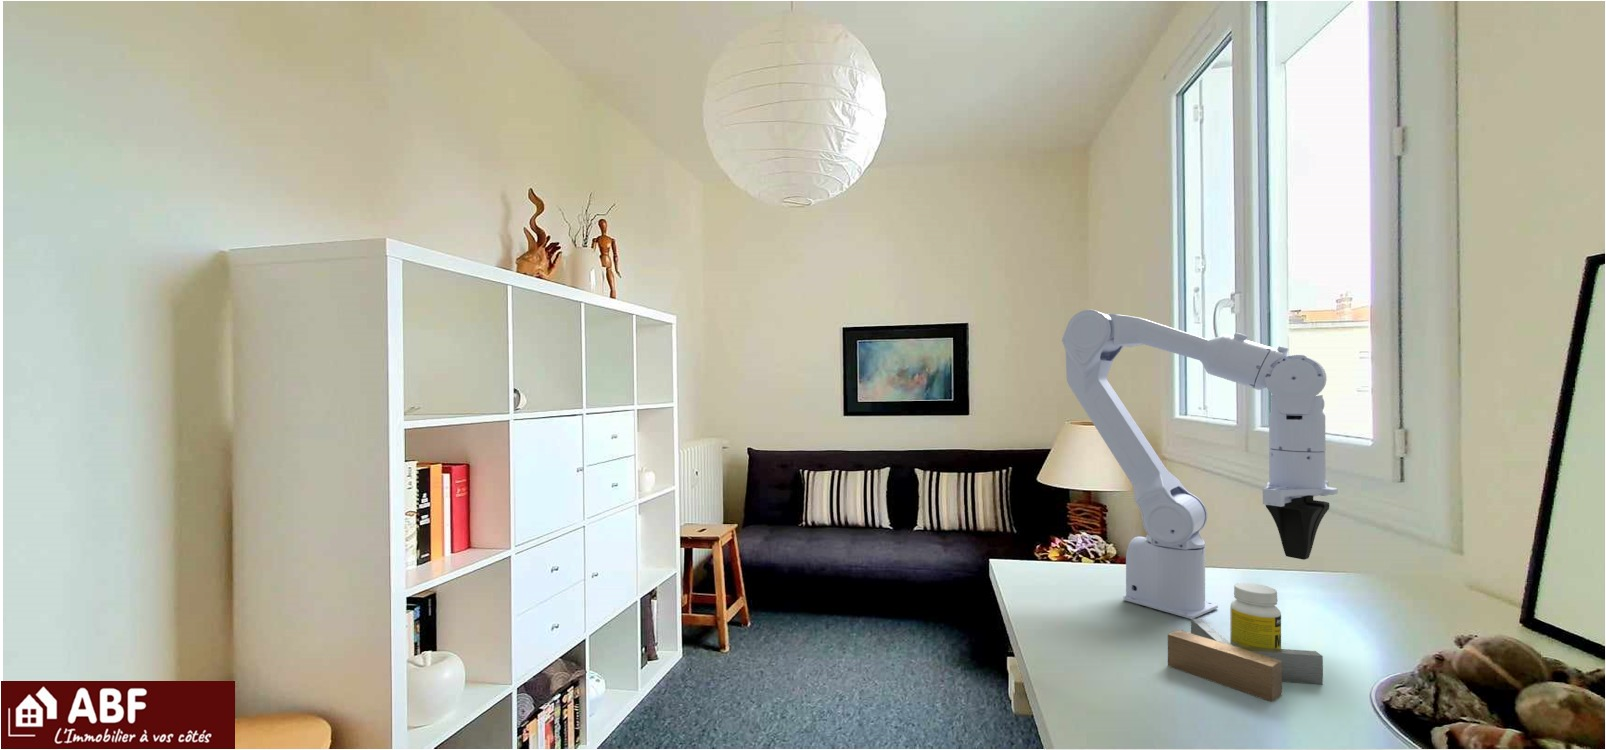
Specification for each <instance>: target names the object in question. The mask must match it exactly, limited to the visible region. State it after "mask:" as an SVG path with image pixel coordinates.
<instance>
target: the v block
mask: <svg viewBox="0 0 1606 750" xmlns="http://www.w3.org/2000/svg"><path fill="white" fill-rule="evenodd" d="M1323 658H1324V656H1323V655H1322V654H1320V653H1319V652H1318V651H1315V650H1302V649H1285V648H1281V649H1275V648H1260V647H1245V646H1233V645H1232V644H1231V643H1230V641H1229V640H1227V639H1226V638H1225V637H1223V636H1222V635H1221V634H1220V633H1219V632H1217V630H1215V629H1214V628H1213V627H1211V626H1210V625H1209V624H1208V623H1207V622H1206V621H1205V620H1204V619H1202V618H1193V619H1190V632H1188V631H1184V630H1181V629H1177V630H1174V631H1172V632H1169V633H1167V667H1170V668H1174V669H1176V670H1178V671H1182V672H1185V673H1187V674H1190V675H1193V676H1196V677H1198V678H1202V679H1205V680H1207V681H1211V682H1214V683H1216V684H1218V685H1222V686H1224V687H1228V688H1231V689H1232V690H1233V689H1234V690H1236V691H1239V692H1242V693H1243V694H1247V695H1251V696H1254V697H1256V698H1259V699H1262V700H1264V701H1267V702H1270V703H1273V702H1274V701H1276V700H1278V699H1279V698H1281V697H1282V696H1283V683H1295V684H1305V685H1306V684H1308V685H1321V686H1322V685H1323V684H1324V669H1323V668H1324V667H1323V666H1324V665H1323V664H1324V662H1323V660H1324V659H1323Z"/></svg>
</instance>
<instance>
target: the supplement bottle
mask: <svg viewBox="0 0 1606 750" xmlns="http://www.w3.org/2000/svg"><path fill="white" fill-rule="evenodd" d="M1233 587H1234V588H1233V596H1234V600H1233V601H1231V602H1230V608H1229V609H1230V612H1229V613H1230V614H1229V615H1230V619H1229V620H1230V625H1229V626H1230V629H1229V630H1230V631H1229V632H1230V634H1229V635H1230V637H1229V638H1230V641H1229V643H1231V644H1232V645H1233V646H1245V647H1260V648H1275V649H1282V612H1281V610H1280V609H1279V608H1278V607H1277V604H1278V592H1277V590H1276V589H1275V588H1274V587H1271V586H1267V585H1265V584H1264V585H1263V584H1259V583H1251V582H1250V583H1249V582H1237V583H1235V584H1234V586H1233Z"/></svg>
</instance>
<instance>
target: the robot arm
mask: <svg viewBox="0 0 1606 750" xmlns="http://www.w3.org/2000/svg"><path fill="white" fill-rule="evenodd" d="M1061 342H1062V345H1063V347H1064V351H1065V368H1066V381H1067V385H1068V387H1069V388H1070V390H1071V392H1072V393H1073V394H1074V396H1075V397H1076V399H1077V401H1078V402H1079V404H1080V405H1081V406H1082V408H1083V410H1084V411H1085V413H1086V415H1087V416H1088V418H1089V420H1090V421H1091V422H1092V424H1093V426H1094V427H1095V429H1096V430H1097V432H1098V434H1099V435H1100V437H1101V438H1102V440H1103V441H1104V443H1105V444H1106V446H1107V448H1108V449H1109V450H1110V452H1111V454H1112V455H1113V456H1114V458H1115V460H1116V462H1117V463H1118V465H1119V466H1120V467H1121V469H1122V471H1123V472H1124V474H1125V475H1126V477H1127V479H1128V481H1129V482H1130V483H1131V485H1132V487H1133V494H1134V496H1133V497H1134V502H1135V503H1136V505H1137V506H1138V508H1139V510H1140V513H1141V518H1142V519H1141V520H1142V525H1143V529H1144V530H1145V532H1146V535H1145V536H1146V537H1145V536H1135V537H1133V538H1132V539H1131V540H1130V542H1129V543H1128V547H1127V550H1126V552H1125V553H1126V555H1125V595H1124V596H1122V598H1123V600H1124V601H1127V602H1129V603H1133V604H1136V605H1141V606H1145V607H1147V608H1150V609H1154V610H1158V611H1161V612H1165V613H1168V614H1172V615H1176V616H1179V617H1183V618H1186V619H1189V620H1191V619H1197V618H1198V617H1200V616H1202V615H1205V614H1208V613H1209V612H1212V611H1213V610H1217V609H1218V608H1219V605H1218V604H1217V603H1214V602H1211V601H1210V602H1209V601H1206V542H1205V540H1204V539H1203V538H1202V537H1201V533H1199V532H1200V531H1201V530H1203V528H1205V526H1206V523H1207V521H1208V511H1207V508H1206V505H1205V504H1204V503H1203V501H1202V500H1201V499H1200V498H1199V497H1198V496H1196V495H1194V494H1193V493H1191V492H1190V491H1188V490H1187V489H1186V488H1185V486H1184V485H1183V483H1182V482H1181V480H1179V479H1178V477H1176V476H1175V475H1174V474H1172V473H1171V472H1170V471H1169V470H1168V469H1167V468H1166V466H1165V465H1164V463H1163V462H1162V460H1161V458H1160V457H1159V455H1158V454H1157V453H1156V450H1155V449H1154V448H1153V447H1152V445H1151V443H1150V442H1149V441H1148V439H1147V438H1146V436H1145V435H1144V433H1143V432H1142V430H1141V428H1140V427H1139V426H1138V424H1137V423H1136V421H1135V420H1134V418H1133V417H1132V415H1131V413H1130V412H1129V411H1128V409H1127V407H1126V406H1125V405H1124V402H1122V399H1120V397H1119V396H1118V393H1116V391H1115V389H1114V388H1113V386H1112V385H1111V383H1110V382H1109V381H1108V376H1109V373H1110V370H1111V367H1112V363H1113V361H1114V360H1115V359H1116V357H1117V355H1119V353H1120V352H1121V351H1122V350H1123V348H1124V347H1125V348H1133V347H1138V346H1142V345H1145V346H1149V347H1152V348H1155V349H1159V350H1163V351H1166V352H1169V353H1173V354H1176V355H1180V356H1184V357H1186V358H1190V359H1194V360H1198V361H1200V362H1201V364H1202V365H1203V368H1204V369H1205V371H1206V373H1207V374H1208V375H1210V376H1211V375H1212V376H1216V377H1217V378H1221V379H1225V380H1227V381H1231V382H1232V383H1236V384H1239V385H1242V386H1246V387H1248V388H1251V389H1255V390H1257V391H1260V390H1262V389H1265V388H1266V389H1267V390H1268V392H1269V393H1270V412H1269V413H1268V426H1269V427H1268V437H1269V438H1268V443H1269V444H1268V448H1269V449H1268V469H1269V471H1268V478H1269V479H1268V481H1267V483H1266V487H1265V488H1262V505H1265V507H1266V510H1268V512H1269V514H1270V515H1271V517H1272V519H1273V521H1274V523H1275V525H1276V527H1277V530H1278V535H1279V538H1280V541H1281V542H1280V543H1281V546H1282V548H1283V549H1282V550H1283V552H1284V554H1285V557H1288V558H1292V559H1299V560H1303V561H1304V560H1307V559H1309V558H1310V555H1311V553H1312V550H1313V546H1314V543H1315V538H1316V534H1317V531H1318V528H1319V527H1320V524H1321V523H1322V520H1323V518H1324V517H1325V516H1326V514H1327V512H1328V511H1329V509H1330V502H1328V501H1321V500H1316V499H1314V498H1315V497H1317V496H1320V497H1321V496H1322V497H1327V496H1334V495H1337V494H1338V488H1337V487H1331V486H1329V481H1328V480H1326V479H1327V478H1326V477H1327V476H1326V470H1327V469H1326V415H1325V413H1324V411H1323V410H1324V408H1325V400H1324V397H1323V396H1324V395H1323V394H1321V395H1319V394H1320V393H1322V391H1323V390H1324V389H1325V386H1326V383H1327V373H1326V371H1325V369H1324V367H1323V366H1322V365H1321V364H1320V363H1319V362H1318V361H1316V360H1315V359H1313V358H1310V357H1307V356H1306V355H1304V354H1294V355H1288V353H1289V348H1288V347H1286V346H1285V347H1284V346H1282V345H1279V346H1278V347H1277V348H1276V347H1272V346H1269V345H1264V344H1262V343H1258V342H1254V341H1251V340H1248V335H1246V334H1242V333H1239V332H1235V333H1234V335H1229V334H1227V333H1225V334H1221V335H1219V336H1216V337H1214V338H1211V339H1208V338H1204V337H1201V336H1199V335H1195V334H1192V333H1189V332H1186V331H1183V330H1180V329H1176V328H1173V327H1170V326H1169V325H1164V324H1162V323H1158V322H1155V321H1151V320H1148V319H1146V318H1142V317H1137V316H1130V315H1123V314H1118V313H1109V312H1107V313H1103V312H1101V311H1098V310H1095V309H1085V310H1081V311H1079V312H1077V313H1076V314H1074V315H1073V316H1072V317H1071V318H1070V319H1069V321H1068V323H1067V326H1066V328H1065V330H1064V333H1063V337H1062V339H1061Z"/></svg>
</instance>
